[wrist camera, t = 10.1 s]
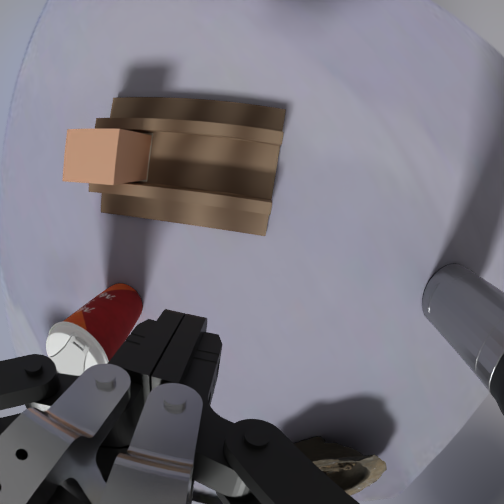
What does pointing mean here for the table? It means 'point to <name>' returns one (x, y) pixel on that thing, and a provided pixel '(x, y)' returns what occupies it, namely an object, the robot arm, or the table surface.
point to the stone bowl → (343, 464)
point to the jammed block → (106, 156)
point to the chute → (199, 162)
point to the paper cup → (94, 330)
